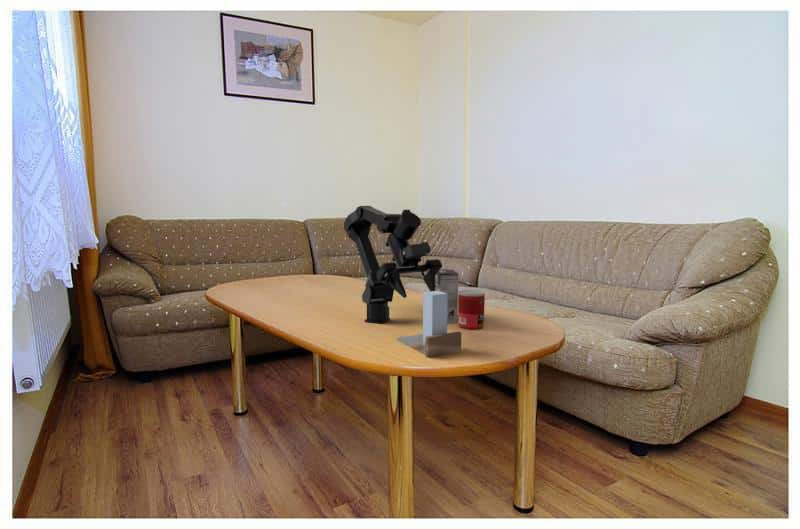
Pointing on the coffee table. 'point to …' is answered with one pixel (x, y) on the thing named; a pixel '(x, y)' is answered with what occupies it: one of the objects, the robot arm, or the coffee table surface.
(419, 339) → the pad
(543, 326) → the coffee table surface
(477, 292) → the canned food
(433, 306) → the block
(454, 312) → the coffee box
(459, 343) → the brown slab
